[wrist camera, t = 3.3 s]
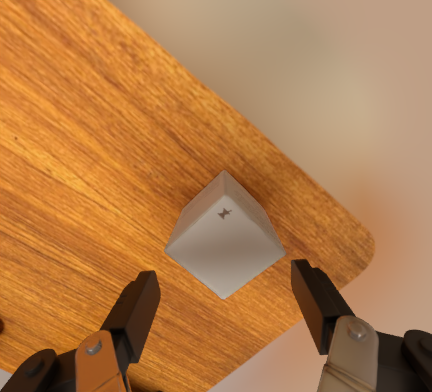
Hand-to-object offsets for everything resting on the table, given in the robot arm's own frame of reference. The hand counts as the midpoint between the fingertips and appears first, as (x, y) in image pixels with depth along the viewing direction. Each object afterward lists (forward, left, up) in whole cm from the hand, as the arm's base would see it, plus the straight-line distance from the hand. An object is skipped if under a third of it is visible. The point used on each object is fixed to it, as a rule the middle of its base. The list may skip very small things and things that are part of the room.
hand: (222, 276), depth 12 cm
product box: (0, 0, -9) cm, 9 cm away
